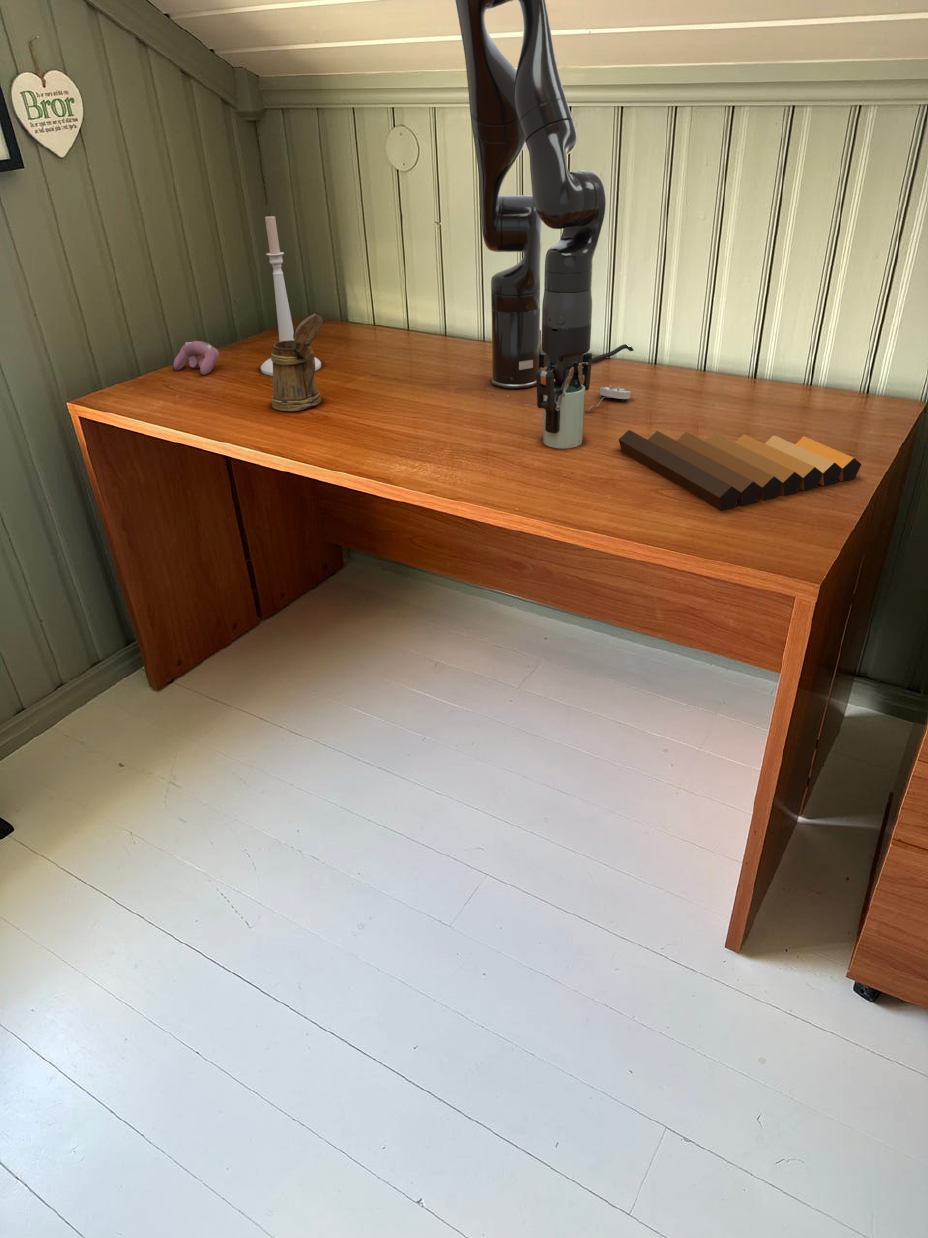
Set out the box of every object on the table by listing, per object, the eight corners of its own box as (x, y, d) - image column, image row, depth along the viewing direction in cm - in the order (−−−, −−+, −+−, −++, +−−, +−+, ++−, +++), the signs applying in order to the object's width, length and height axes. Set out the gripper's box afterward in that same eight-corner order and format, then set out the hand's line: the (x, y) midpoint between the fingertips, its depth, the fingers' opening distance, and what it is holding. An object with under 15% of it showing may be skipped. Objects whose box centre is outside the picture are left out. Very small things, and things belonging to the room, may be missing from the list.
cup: (555, 432, 142) (556, 379, 137) (589, 439, 139) (592, 384, 134) (535, 443, 138) (536, 389, 133) (570, 451, 134) (572, 395, 130)
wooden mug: (307, 420, 151) (293, 316, 142) (263, 405, 159) (247, 306, 150) (345, 407, 157) (334, 307, 147) (300, 393, 165) (287, 297, 155)
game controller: (633, 395, 157) (634, 381, 156) (619, 415, 148) (620, 401, 147) (603, 392, 159) (604, 379, 158) (587, 412, 150) (588, 398, 149)
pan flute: (617, 452, 133) (717, 511, 114) (619, 431, 132) (720, 488, 112) (744, 426, 141) (858, 477, 122) (747, 406, 140) (863, 455, 120)
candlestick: (333, 363, 182) (315, 211, 166) (294, 379, 173) (272, 219, 157) (288, 356, 188) (267, 208, 172) (248, 371, 179) (222, 217, 163)
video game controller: (218, 379, 181) (224, 345, 179) (202, 374, 177) (207, 340, 176) (187, 373, 185) (192, 340, 184) (170, 368, 181) (175, 335, 180)
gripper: (567, 307, 135) (564, 409, 144) (520, 326, 125) (520, 435, 134) (610, 312, 131) (603, 417, 140) (565, 332, 121) (561, 443, 130)
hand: (562, 425), depth 137 cm, fingers closed on cup, 6 cm apart
